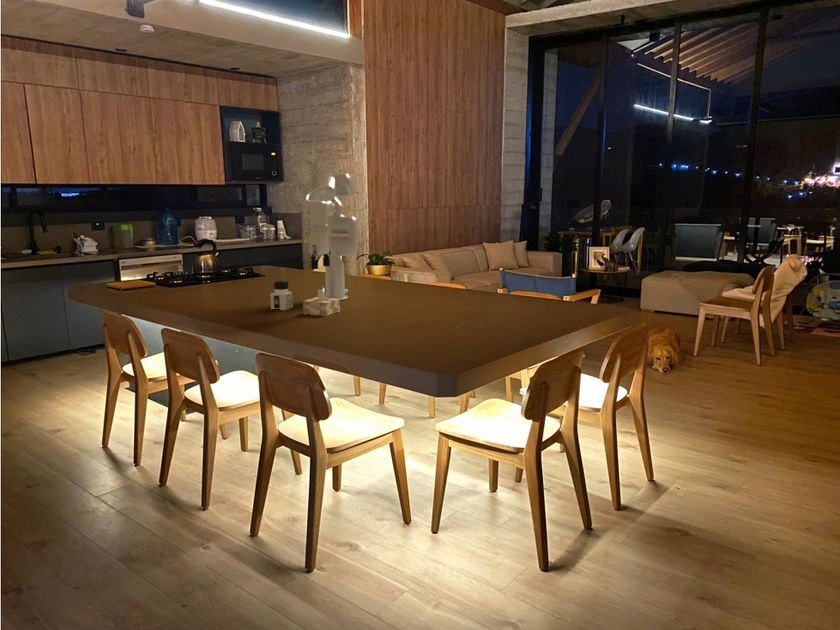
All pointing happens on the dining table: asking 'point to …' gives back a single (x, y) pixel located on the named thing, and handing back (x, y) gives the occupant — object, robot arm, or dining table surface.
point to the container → (281, 296)
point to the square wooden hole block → (321, 306)
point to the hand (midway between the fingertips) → (320, 267)
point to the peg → (321, 293)
